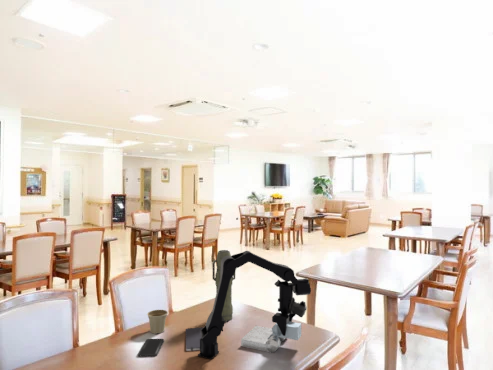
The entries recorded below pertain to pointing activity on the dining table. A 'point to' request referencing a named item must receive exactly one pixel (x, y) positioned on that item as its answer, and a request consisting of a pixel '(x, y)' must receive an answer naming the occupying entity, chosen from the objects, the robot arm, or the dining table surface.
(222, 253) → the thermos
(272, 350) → the steel hinge leaf
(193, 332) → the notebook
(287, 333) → the blue-grey hinge leaf
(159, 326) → the flower pot
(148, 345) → the phone
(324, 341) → the dining table surface
